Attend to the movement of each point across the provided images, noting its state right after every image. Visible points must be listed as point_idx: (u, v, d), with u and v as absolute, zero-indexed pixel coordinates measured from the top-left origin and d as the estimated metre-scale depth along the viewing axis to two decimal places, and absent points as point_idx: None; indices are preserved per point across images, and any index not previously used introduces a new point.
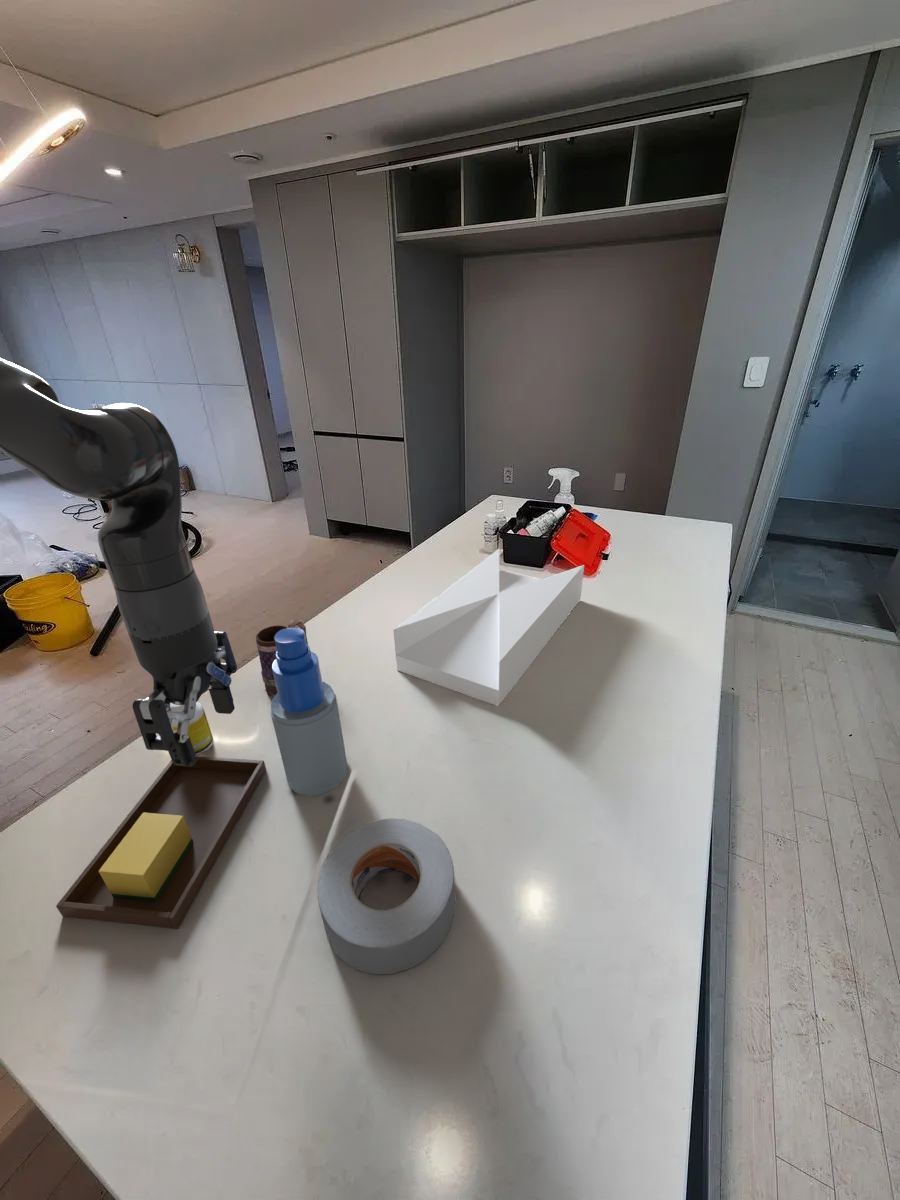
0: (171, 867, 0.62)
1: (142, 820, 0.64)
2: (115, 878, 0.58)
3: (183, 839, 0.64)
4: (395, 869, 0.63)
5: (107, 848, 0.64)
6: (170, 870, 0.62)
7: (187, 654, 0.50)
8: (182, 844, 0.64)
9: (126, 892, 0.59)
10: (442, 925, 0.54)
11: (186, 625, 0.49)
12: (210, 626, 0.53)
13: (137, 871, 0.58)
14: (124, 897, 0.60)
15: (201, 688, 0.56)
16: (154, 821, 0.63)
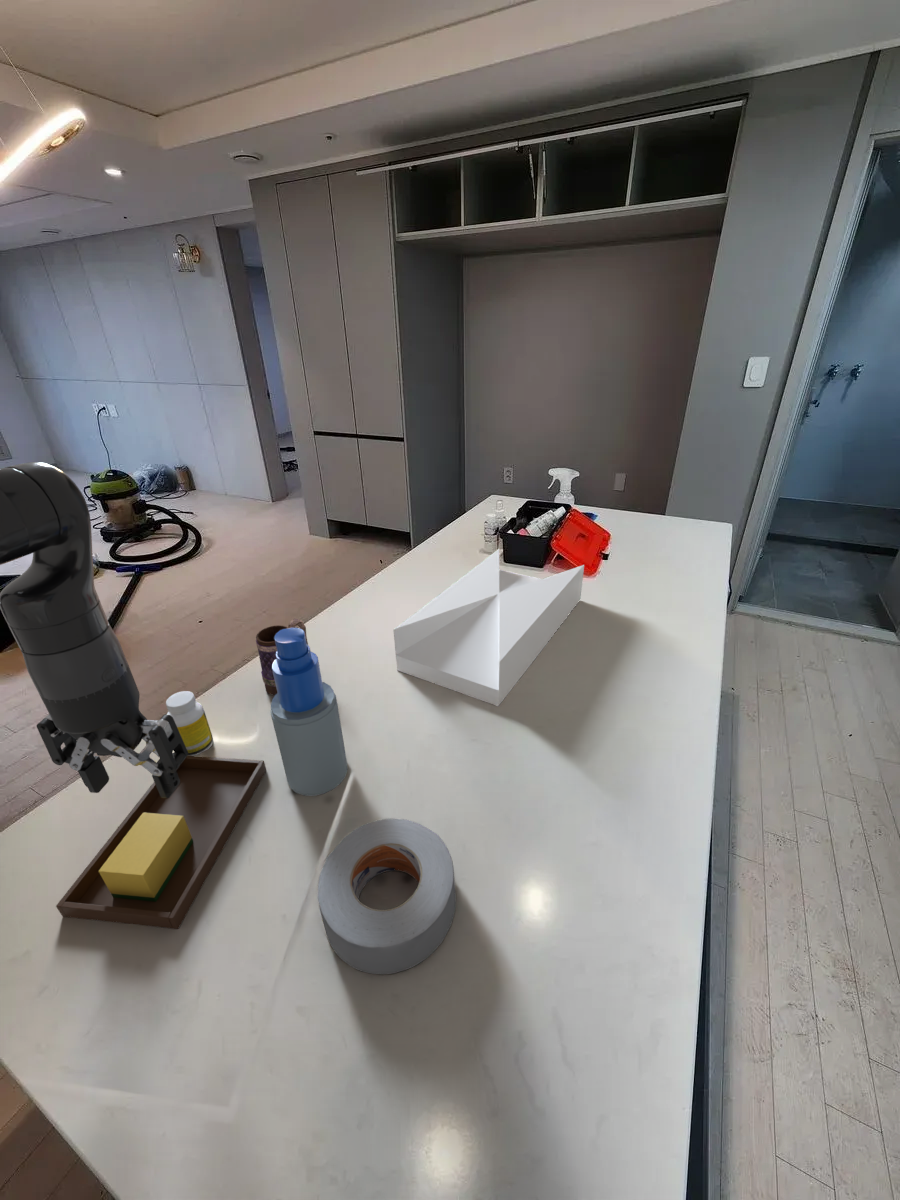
0: (171, 867, 0.62)
1: (142, 820, 0.64)
2: (115, 878, 0.58)
3: (183, 839, 0.64)
4: (395, 869, 0.63)
5: (107, 848, 0.64)
6: (170, 870, 0.62)
7: None
8: (182, 844, 0.64)
9: (126, 892, 0.59)
10: (442, 925, 0.54)
11: (38, 691, 0.47)
12: (70, 711, 0.48)
13: (137, 871, 0.58)
14: (124, 897, 0.60)
15: (107, 750, 0.53)
16: (154, 821, 0.63)
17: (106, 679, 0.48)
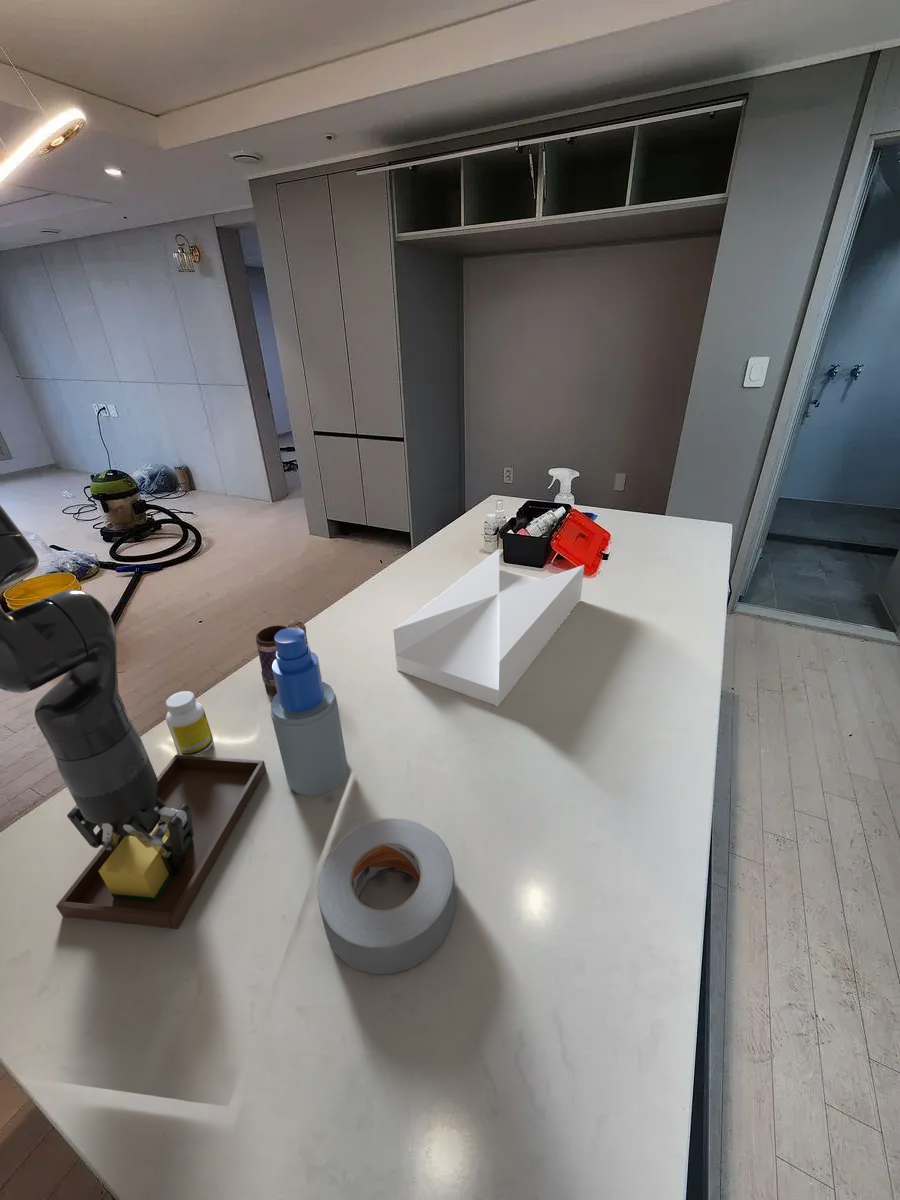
0: None
1: None
2: (115, 878, 0.58)
3: None
4: (395, 869, 0.63)
5: None
6: None
7: None
8: None
9: (126, 892, 0.59)
10: (442, 925, 0.54)
11: (68, 788, 0.52)
12: (97, 806, 0.53)
13: (137, 871, 0.58)
14: (124, 897, 0.60)
15: (128, 832, 0.58)
16: None
17: (129, 775, 0.53)
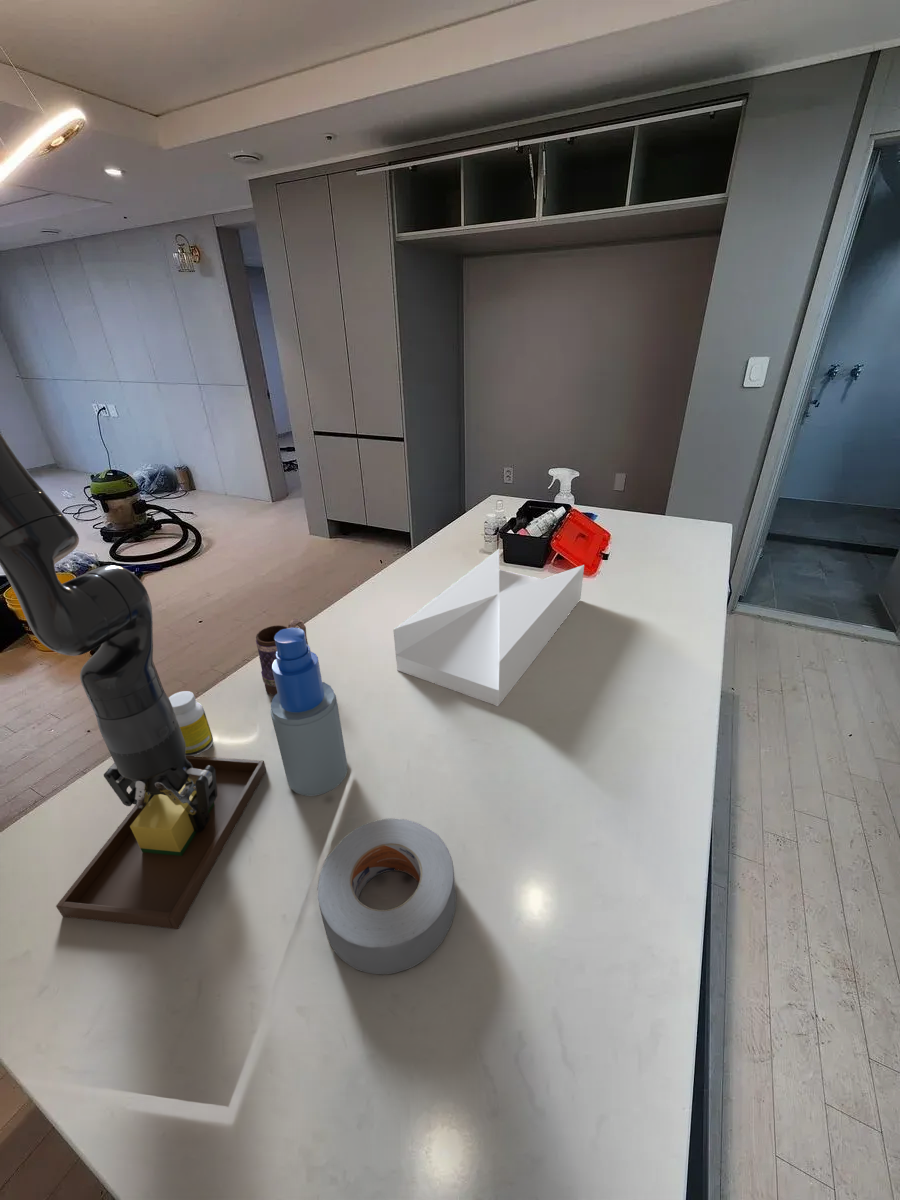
0: None
1: None
2: (145, 833, 0.63)
3: None
4: (395, 869, 0.63)
5: (107, 848, 0.64)
6: None
7: (114, 762, 0.60)
8: None
9: (154, 847, 0.64)
10: (442, 925, 0.54)
11: (107, 746, 0.58)
12: (133, 762, 0.58)
13: (165, 826, 0.63)
14: (152, 852, 0.65)
15: (159, 791, 0.64)
16: None
17: (162, 735, 0.59)
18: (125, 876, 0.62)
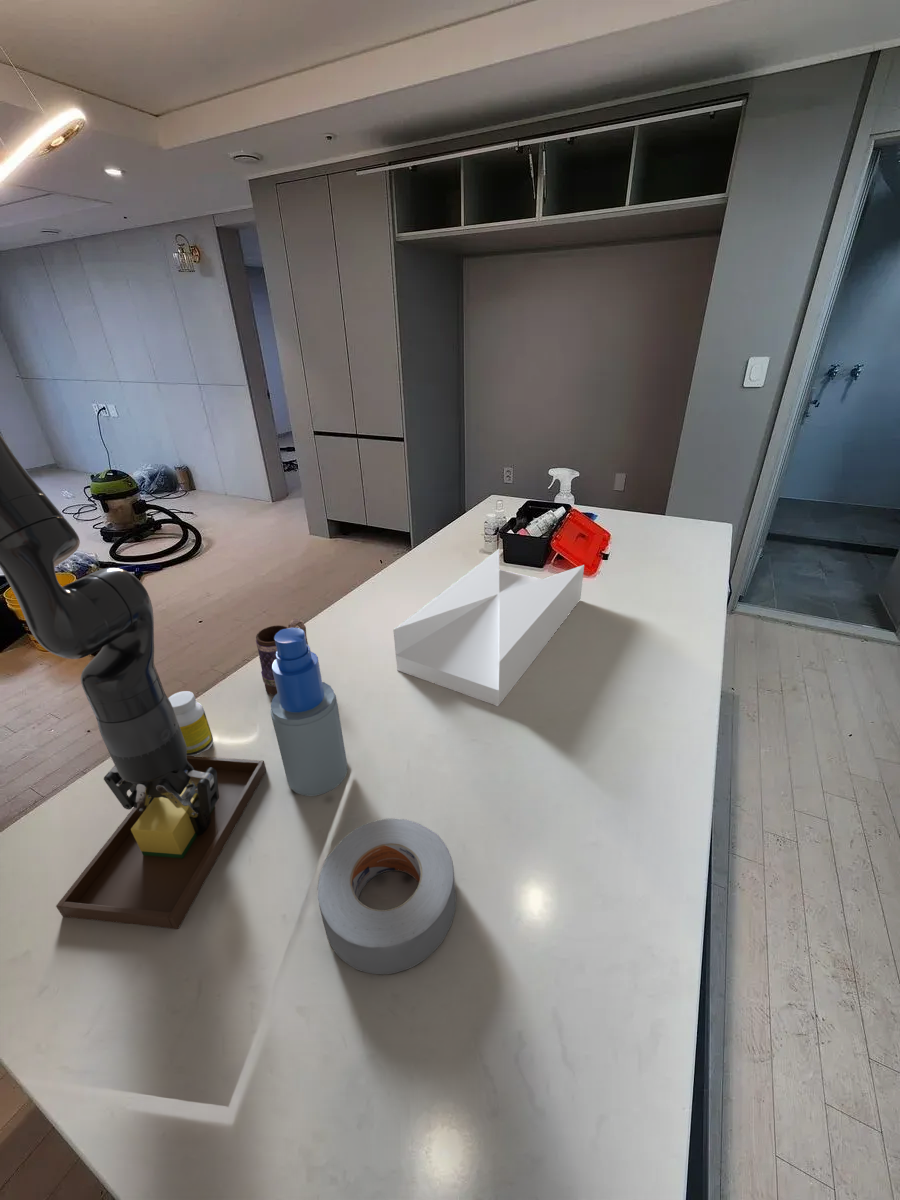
0: None
1: None
2: (146, 836, 0.63)
3: None
4: (395, 869, 0.63)
5: (107, 848, 0.64)
6: None
7: (115, 766, 0.59)
8: None
9: (155, 849, 0.64)
10: (442, 925, 0.54)
11: (108, 750, 0.58)
12: (135, 765, 0.58)
13: (167, 829, 0.62)
14: (153, 854, 0.65)
15: (160, 793, 0.64)
16: None
17: (163, 738, 0.59)
18: (125, 876, 0.62)
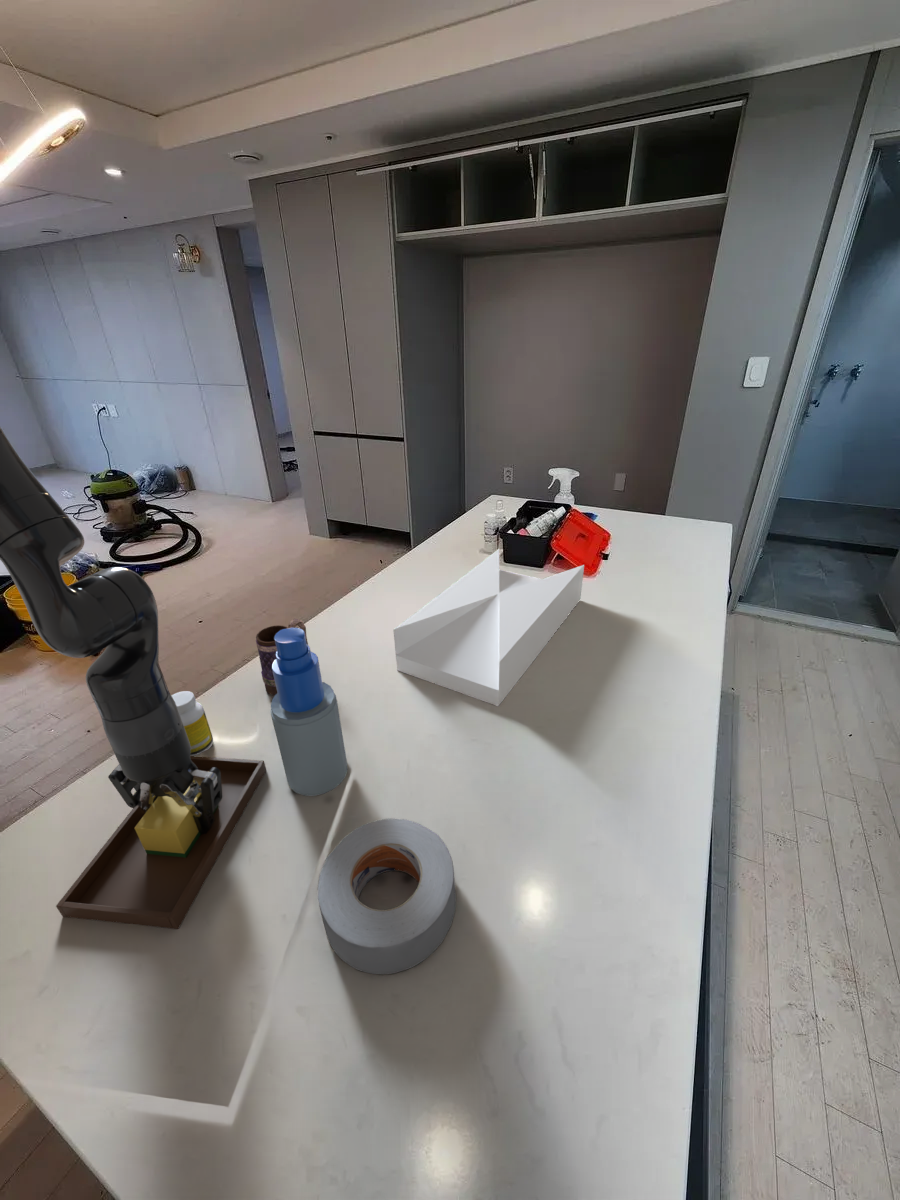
0: None
1: None
2: (149, 835, 0.63)
3: None
4: (395, 869, 0.63)
5: (107, 848, 0.64)
6: None
7: None
8: None
9: (159, 848, 0.64)
10: (442, 925, 0.54)
11: (113, 748, 0.58)
12: (139, 764, 0.58)
13: (170, 828, 0.62)
14: (157, 853, 0.65)
15: (164, 792, 0.64)
16: None
17: (167, 737, 0.59)
18: (125, 876, 0.62)
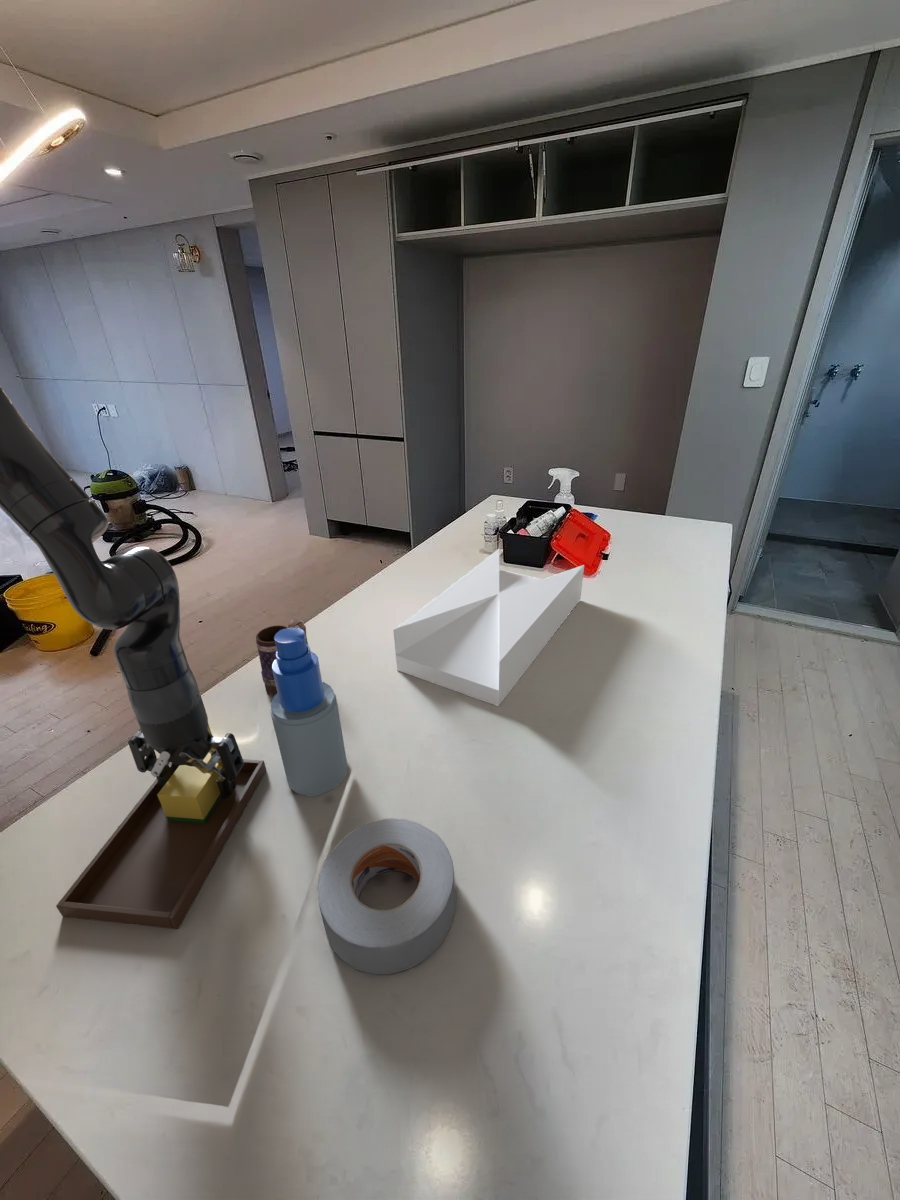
0: (217, 796, 0.71)
1: None
2: (171, 801, 0.67)
3: None
4: (395, 869, 0.63)
5: (107, 848, 0.64)
6: (216, 798, 0.71)
7: (142, 733, 0.64)
8: None
9: (180, 814, 0.69)
10: (442, 925, 0.54)
11: (137, 717, 0.62)
12: (161, 732, 0.62)
13: (191, 794, 0.67)
14: (177, 819, 0.69)
15: (183, 761, 0.68)
16: None
17: (187, 707, 0.63)
18: (125, 876, 0.62)
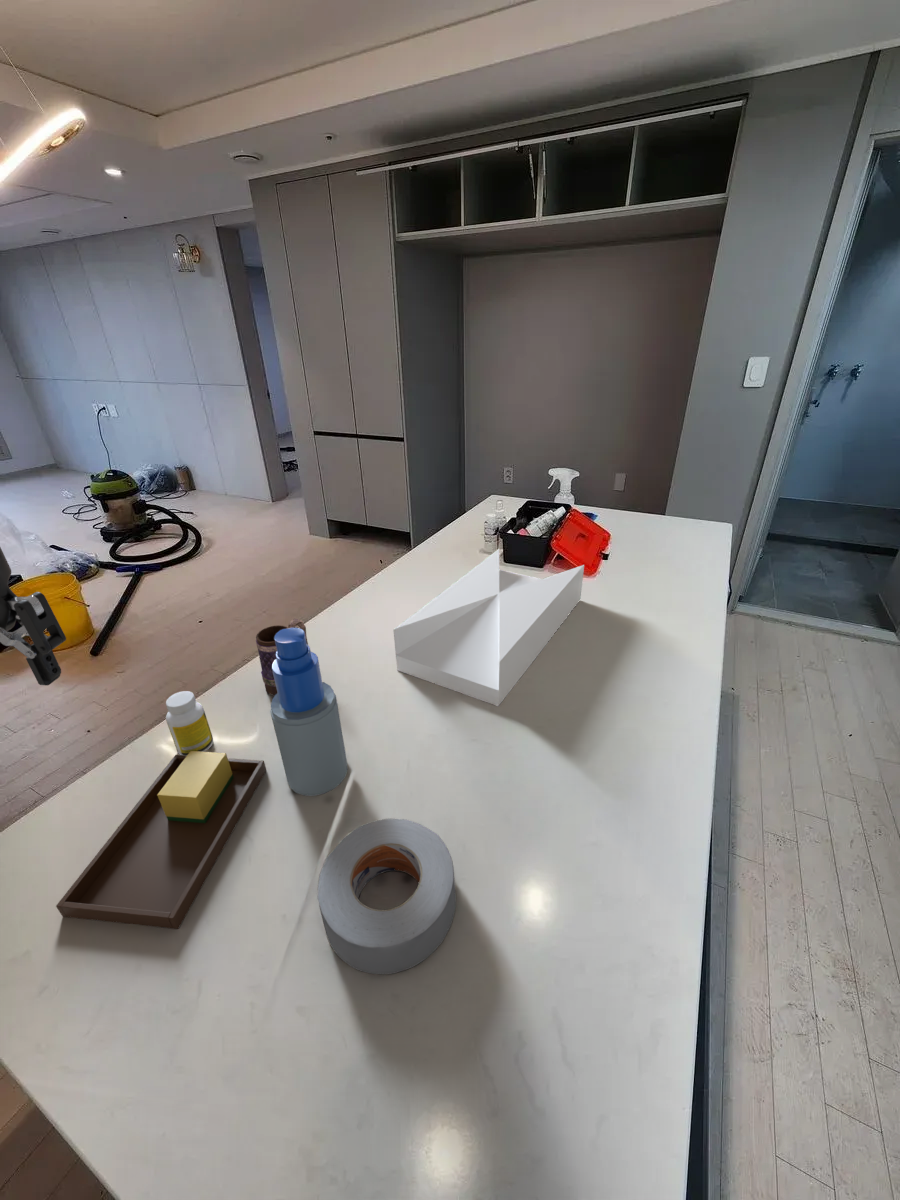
0: (217, 796, 0.71)
1: (190, 756, 0.73)
2: (171, 801, 0.67)
3: (226, 773, 0.74)
4: (395, 869, 0.63)
5: (107, 848, 0.64)
6: (216, 798, 0.71)
7: None
8: (225, 778, 0.73)
9: (180, 814, 0.69)
10: (442, 925, 0.54)
11: None
12: None
13: (191, 794, 0.67)
14: (177, 819, 0.69)
15: None
16: (201, 757, 0.73)
17: None
18: (125, 876, 0.62)
